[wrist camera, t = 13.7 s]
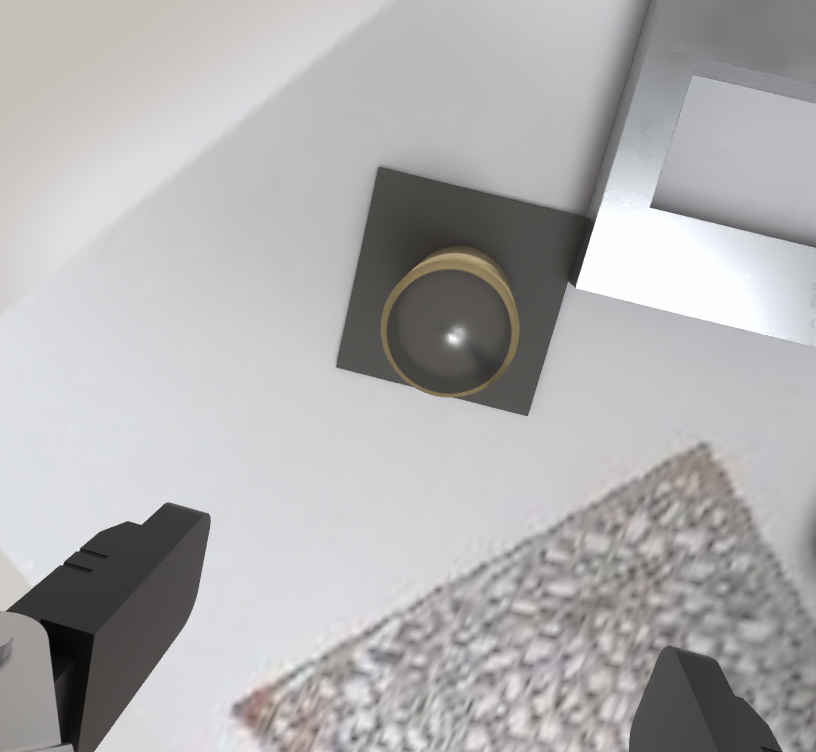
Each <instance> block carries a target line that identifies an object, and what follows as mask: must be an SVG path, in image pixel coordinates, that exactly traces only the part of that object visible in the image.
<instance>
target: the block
mask: <svg viewBox="0 0 816 752" xmlns="http://www.w3.org/2000/svg"><path fill="white" fill-rule="evenodd" d="M692 74H694V75H698V76H702V77H707V78H711V79H715V80H719V81H724V82H728V83H732V84H736V85H741V86H745V87H749V88H753V89H758V90H762V91H766V92H770V93H775V94H779V95H783V96H787V97H792V98H796V99H800V100H804V101H809V102H813V103H816V0H651V1H650V4H649V7H648V11H647V14H646V17H645V21H644V24H643V28H642V31H641V34H640V38H639V41H638V44H637V48H636V51H635V54H634V58H633V61H632V64H631V68H630V71H629V74H628V78H627V81H626V85H625V88H624V91H623V95H622V98H621V101H620V105H619V108H618V111H617V115H616V118H615V121H614V125H613V128H612V131H611V135H610V138H609V141H608V145H607V148H606V152H605V155H604V158H603V162H602V165H601V168H600V172H599V175H598V178H597V182H596V185H595V188H594V192H593V195H592V198H591V202H590V205H589V208H588V212H587V215H586V218H587V220H586V223H585V226H584V230H583V233H582V236H581V240H580V243H579V247H578V250H577V253H576V257H575V260H574V263H573V267H572V270H571V273H570V277H569V280H568V281H569V282H570V283H571V284H572V285H573V286H574V287H575V288H578V289H582V290H586V291H590V292H594V293H598V294H602V295H606V296H610V297H614V298H618V299H623V300H627V301H631V302H635V303H639V304H643V305H647V306H651V307H655V308H659V309H663V310H667V311H671V312H675V313H679V314H683V315H687V316H691V317H695V318H699V319H703V320H707V321H711V322H715V323H719V324H723V325H727V326H731V327H735V328H739V329H744V330H748V331H752V332H756V333H760V334H764V335H768V336H772V337H776V338H780V339H784V340H788V341H792V342H796V343H800V344H804V345H808V346H812V347H816V248H814V247H810V246H806V245H802V244H798V243H793V242H789V241H785V240H781V239H777V238H773V237H769V236H765V235H760V234H756V233H752V232H748V231H744V230H740V229H736V228H732V227H727V226H723V225H719V224H715V223H711V222H707V221H703V220H699V219H695V218H690V217H686V216H682V215H678V214H674V213H670V212H666V211H662V210H657V209H653V208H650V205H651V202H652V198H653V195H654V192H655V189H656V186H657V183H658V180H659V177H660V174H661V171H662V167H663V164H664V161H665V158H666V155H667V152H668V149H669V146H670V143H671V139H672V136H673V133H674V130H675V127H676V124H677V121H678V118H679V115H680V111H681V108H682V105H683V102H684V99H685V96H686V93H687V90H688V87H689V84H690V80H691V77H692Z"/></svg>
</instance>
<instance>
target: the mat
mask: <svg viewBox="0 0 816 752" xmlns="http://www.w3.org/2000/svg"><path fill="white" fill-rule="evenodd" d="M586 220H587V218H585V217H581V216H576V215H572V214H568V213H564V212H560V211H556V210H552V209H548V208H544V207H540V206H536V205H531V204H527V203H523V202H519V201H515V200H511V199H507V198H503V197H499V196H495V195H490V194H486V193H482V192H478V191H474V190H470V189H466V188H462V187H458V186H454V185H449V184H445V183H441V182H437V181H433V180H429V179H425V178H421V177H417V176H413V175H409V174H404V173H400V172H396V171H392V170H388V169H384V168H380V167H379V169H378V173H377V178H376V183H375V187H374V192H373V197H372V201H371V206H370V211H369V215H368V220H367V225H366V229H365V234H364V239H363V243H362V248H361V253H360V258H359V262H358V267H357V272H356V276H355V281H354V286H353V290H352V295H351V300H350V304H349V309H348V314H347V318H346V323H345V328H344V332H343V337H342V342H341V346H340V351H339V356H338V360H337V365H336V367H337V368H341V369H345V370H348V371H352V372H356V373H360V374H364V375H368V376H372V377H376V378H380V379H384V380H388V381H392V382H395V383H399V384H403V385H407V386H411V387H413V386H412V385H410V384H409V383H407V382H406V381H405V380H404V379H403V378H402V377H401V376H400V375H399V374H398V373H397V372H396V371H395V369H394V368H393V367H392V365H391V364H390V362H389V360H388V358H387V356H386V353H385V351H384V348H383V344H382V339H381V318H382V313H383V309H384V306H385V303H386V301H387V299H388V297H389V295H390V293H391V292H392V290H393V289H394V288H395V286H396V285H397V284H398V283H399V282H400V281H401V280H402V279H403V278H404V277H405V276H406V275H407V274H408V273H409V272H410V271H412V270H413V269H414V268H415V267H416V266H417V265H418V264H419V263H420V262H422V261H423V260H424V259H425V258H426V257H427V256H429V255H430V254H431V253H433V252H435V251H437V250H439V249H441V248H444V247H448V246H454V245H465V246H471V247H475V248H478V249H480V250H482V251H484V252H486V253H488V254H489V255H491V256H492V257H493V258H494V259H495V260H496V261H497V262H498V263H499V264H500V265H501V267H502V268H503V270H504V272H505V274H506V276H507V278H508V281H509V284H510V288H511V291H512V295H513V298H514V302H515V305H516V309H517V313H518V317H519V327H520V331H519V341H518V346H517V349H516V352H515V355H514V357H513V359H512V361H511V363H510V365H509V366H508V367H507V369H506V370H505V372H504V373H503V374H502V375H501V376H500V377H499V378H498V379H497V380H496V381H495V382H493V383H492V384H491V385H489V386H488V387H486V388H484V389H482V390H480V391H478V392H476V393H473V394H470V395H466V396H461V397H454V398H458V399H462V400H466V401H470V402H474V403H478V404H482V405H486V406H489V407H493V408H497V409H501V410H505V411H509V412H513V413H517V414H521V415H525V416H528V414H529V410H530V407H531V404H532V400H533V397H534V394H535V390H536V387H537V384H538V380H539V377H540V374H541V370H542V367H543V364H544V360H545V357H546V354H547V350H548V347H549V344H550V340H551V337H552V333H553V330H554V327H555V323H556V320H557V317H558V313H559V310H560V307H561V303H562V300H563V297H564V293H565V290H566V287H567V283H568V280H569V277H570V273H571V270H572V267H573V263H574V260H575V257H576V253H577V250H578V247H579V243H580V240H581V236H582V233H583V230H584V226H585V223H586Z"/></svg>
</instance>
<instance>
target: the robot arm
mask: <svg viewBox="0 0 816 752" xmlns="http://www.w3.org/2000/svg"><path fill="white" fill-rule="evenodd" d="M210 522H211V521H210V515H209V514H208V513H205V512H201V511H198V510H194V509H191V508H187V507H183V506H180V505H176V504H173V503H165V504H164V505H163V506H162V507H161V508H160V509H159V510H157V511H156V512H155V513H154V514H153V515H152V516H151V517H150V518H149V519H148V520H147V521H146V522H144V523H143V524H142V525H139V524H136V523H132V522H129V521H127V522H124V523H122V524H119V525H117V526H114V527H111V528H109V529H106V530H103V531H101V532H99V533H98V534H97V535H95V536H94V537H93V538H92V539H91V540H90V541H88V542H87V543H86V544H85V545H84V546H82V547H81V548H80V551H79V552H77V551H76V552H75V553H74V554H73V555H72V556H71V557H69V558H68V559H67V560H66V561H65V562H64V564H63V566H61V565H60V566H59V567H58V568H56V569H55V570H54V571H53V572H52V573H50V574H49V575H48V576H47V577H46V578H44V579H43V580H42V581H41V582H40V583H39V584H37V585H36V586H35V587H34V588H33V589H31V590H30V591H29V592H28V593H27V594H25V595H24V596H23V597H22V598H21V599H20V600H18V601H17V602H16V603H15V604H14V605H12V606H11V607H10V608H9V609H8V610H7V611H5V612H1V611H0V752H94V751H95V750H96V748H97V747H98V745H99V744H100V743H101V741H102V740H103V738H104V737H105V736H106V734H107V733H108V731H109V730H110V729H111V727H112V726H113V725H114V723H115V722H116V720H117V719H118V718H119V716H120V715H121V714H122V712H123V711H124V709H125V708H126V707H127V705H128V704H129V702H130V701H131V700H132V698H133V697H134V695H135V694H136V693H137V691H138V690H139V689H140V687H141V686H142V684H143V683H144V682H145V680H146V679H147V677H148V676H149V675H150V673H151V672H152V670H153V669H154V668H155V666H156V665H157V663H158V662H159V661H160V659H161V658H162V657H163V655H164V654H165V652H166V651H167V650H168V648H169V647H170V645H171V644H172V643H173V641H174V640H175V638H176V637H177V636H178V634H179V633H180V632H181V630H182V629H183V627H184V626H185V624H186V622H187V620H188V618H189V616H190V614H191V611H192V609H193V606H194V603H195V600H196V597H197V593H198V588H199V583H200V577H201V572H202V567H203V561H204V556H205V551H206V546H207V540H208V535H209V530H210ZM629 752H782V750H781V748H780V746H779V744H778V742H777V740H776V739H775V737H774V735H773V733H772V731H771V729H770V727H769V726H768V724H767V723H766V722H765V721H764V720H763V719H762V718H761V717H760V716H759V715H758V714H757V713H756V712H755V711H754V710H753V708H752V707H751V706H750V705H749V704H748V703H747V702H746V701H745V700H744V699H743V698H740V697H736V696H734V694H733V692H732V690H731V688H730V686H729V684H728V682H727V680H726V678H725V676H724V674H723V672H722V670H721V668H720V666H719V664H718V662H717V661H716V660H715V659H714V658H711V657H708V656H704V655H701V654H697V653H694V652H690V651H687V650H683V649H680V648H676V647H672V646H667V647H665V648H664V649H663V650H662V652H661V653H660V655H659V657H658V659H657V662H656V664H655V667H654V669H653V672H652V674H651V677H650V679H649V682H648V684H647V687H646V689H645V692H644V694H643V697H642V699H641V702H640V704H639V707H638V709H637V711H636V714H635V716H634V719H633V722H632V726H631V731H630V739H629Z"/></svg>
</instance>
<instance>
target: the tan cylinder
mask: <svg viewBox="0 0 816 752" xmlns="http://www.w3.org/2000/svg"><path fill="white" fill-rule="evenodd" d="M519 331H520V327H519V317H518V313H517V309H516V305H515V302H514V298H513V295H512V291H511V288H510V284H509V281H508V278H507V276H506V274H505V272H504V270H503V268H502V267H501V265H500V264H499V263H498V262H497V261H496V260H495V259H494V258H493V257H492V256H491V255H489V254H488V253H486V252H484V251H482V250H480V249H478V248H475V247H471V246H465V245H454V246H448V247H444V248H441V249H439V250H437V251H435V252H433V253H431V254H430V255H429V256H427V257H426V258H425V259H424V260H423V261H422V262H420V263H419V264H418V265H417V266H416V267H415V268H414V269H413V270H412V271H410V272H409V273H408V274H407V275H406V276H405V277H404V278H403V279H402V280H401V281H400V282H399V283H398V284H397V285H396V286H395V288H394V289H393V290H392V292H391V293H390V295H389V297H388V299H387V301H386V303H385V306H384V309H383V313H382V318H381V339H382V344H383V348H384V351H385V353H386V356H387V358H388V360H389V362H390V364H391V365H392V367H393V368H394V369H395V371H396V372H397V373H398V374H399V375H400V376H401V377H402V378H403V379H404V380H405V381H406V382H407V383H409V384H410V385H412V386H413V387H415V388H416V389H418V390H421V391H423V392H425V393H428V394H431V395H435V396H440V397H461V396H466V395H470V394H473V393H476V392H478V391H480V390H482V389H484V388H486V387H488V386H489V385H491V384H492V383H493V382H495V381H496V380H497V379H498V378H499V377H500V376H501V375H502V374H503V373H504V372H505V370H506V369H507V367H508V366H509V365H510V363H511V361H512V359H513V357H514V355H515V352H516V349H517V346H518V341H519Z"/></svg>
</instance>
